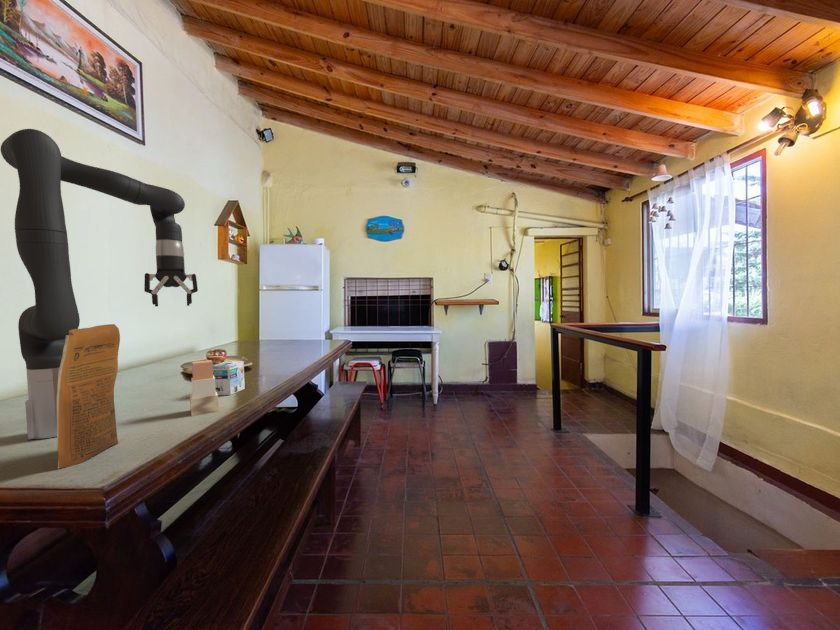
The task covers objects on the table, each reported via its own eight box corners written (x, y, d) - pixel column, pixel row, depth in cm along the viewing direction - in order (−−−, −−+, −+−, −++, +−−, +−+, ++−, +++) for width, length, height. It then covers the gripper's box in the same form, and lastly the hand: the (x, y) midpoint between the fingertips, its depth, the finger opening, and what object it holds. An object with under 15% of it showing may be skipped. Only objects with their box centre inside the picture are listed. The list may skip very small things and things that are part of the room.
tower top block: (192, 398, 109) (191, 381, 109) (192, 394, 115) (191, 377, 114) (215, 395, 113) (215, 378, 112) (214, 391, 118) (213, 375, 118)
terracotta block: (193, 380, 110) (193, 363, 110) (192, 378, 114) (192, 361, 114) (213, 378, 113) (212, 361, 112) (211, 375, 117) (210, 359, 117)
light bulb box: (230, 395, 132) (229, 365, 132) (212, 396, 133) (210, 365, 132) (245, 388, 143) (244, 360, 143) (228, 388, 143) (226, 360, 143)
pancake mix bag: (137, 436, 93) (131, 323, 92) (77, 470, 74) (67, 328, 73) (107, 438, 92) (100, 324, 91) (38, 473, 73) (29, 329, 72)
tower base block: (191, 416, 109) (190, 399, 109) (190, 410, 115) (189, 394, 114) (218, 411, 113) (218, 395, 112) (216, 406, 118) (215, 390, 118)
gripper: (141, 253, 114) (144, 306, 114) (196, 255, 121) (198, 305, 122) (143, 256, 120) (146, 306, 121) (195, 257, 128) (198, 305, 128)
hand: (172, 306), depth 121 cm, fingers open, 8 cm apart
